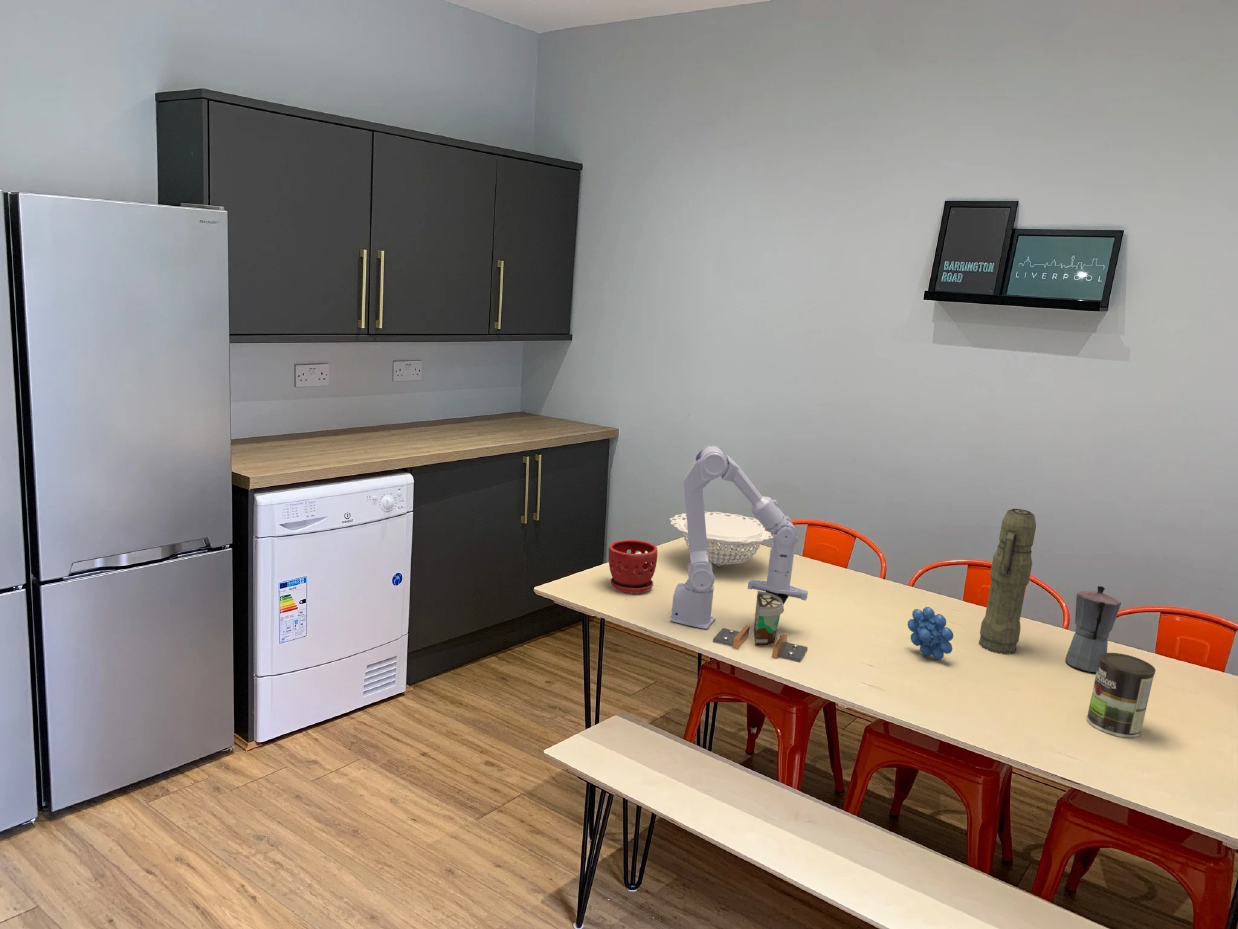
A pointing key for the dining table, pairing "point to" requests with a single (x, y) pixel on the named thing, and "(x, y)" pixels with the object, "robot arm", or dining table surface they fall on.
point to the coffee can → (1120, 694)
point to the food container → (767, 618)
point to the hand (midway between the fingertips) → (773, 621)
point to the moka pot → (1092, 628)
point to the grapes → (930, 633)
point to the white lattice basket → (728, 536)
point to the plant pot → (632, 565)
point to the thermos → (1008, 582)
